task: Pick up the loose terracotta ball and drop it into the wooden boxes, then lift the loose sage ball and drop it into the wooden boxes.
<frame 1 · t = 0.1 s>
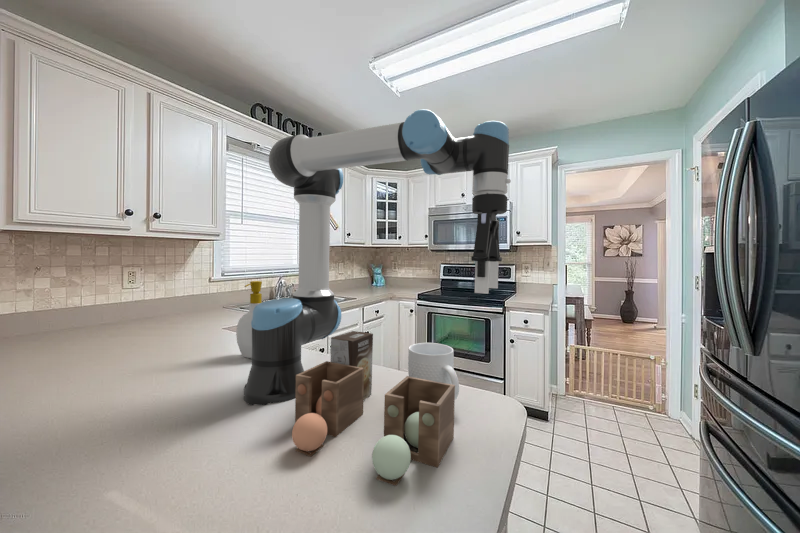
hand: (487, 290, 72), 28 cm above the counter, fingers open, 13 cm apart
sage ball 1: (420, 445, 59), point 1 cm above the counter, touching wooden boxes
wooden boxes: (372, 435, 63), on the counter
terracotta ball 1: (330, 420, 67), point 1 cm above the counter, touching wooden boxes
sage ball 2: (391, 475, 50), point 1 cm above the counter, touching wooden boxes
coffee box: (351, 401, 78), on the counter
terracotta ball 2: (309, 448, 57), point 1 cm above the counter, touching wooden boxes
mug: (432, 403, 78), on the counter
soap bottle: (254, 357, 110), on the counter
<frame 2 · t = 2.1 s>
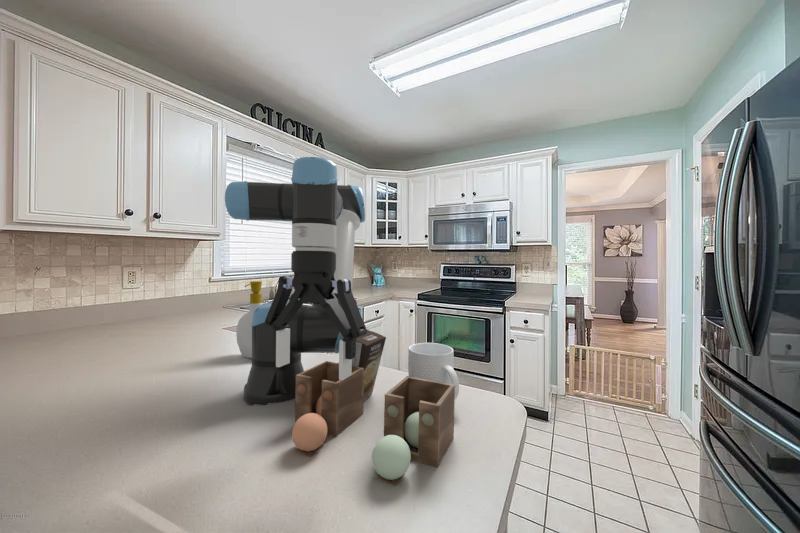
hand: (312, 371, 57), 15 cm above the counter, fingers open, 13 cm apart
coffee box: (351, 398, 78), point 1 cm above the counter, touching arm
everything else where it was.
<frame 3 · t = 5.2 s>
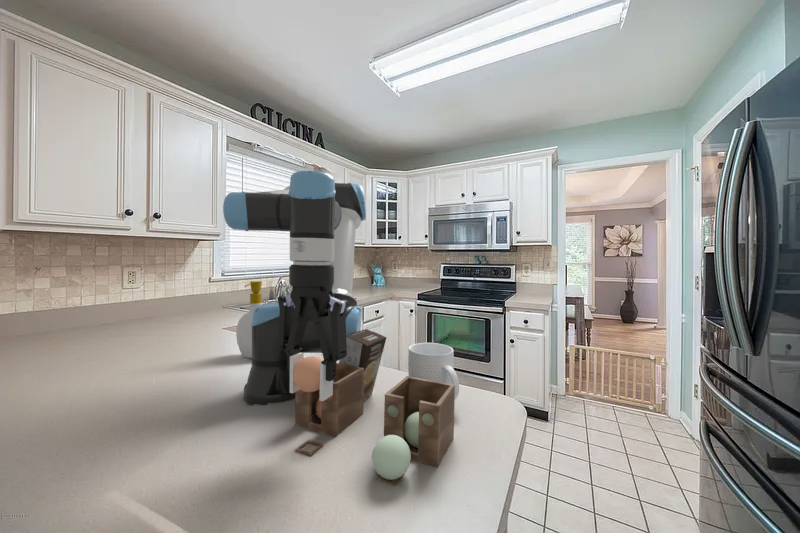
hand: (311, 393, 57), 11 cm above the counter, fingers closed on terracotta ball 2, 6 cm apart
terracotta ball 2: (310, 390, 57), point 11 cm above the counter, touching gripper
everything else where it was.
when the fingers open (13 cm above the counter, at t = 6.8 s): terracotta ball 2 drops 5 cm and tips over, resting on terracotta ball 1, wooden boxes.
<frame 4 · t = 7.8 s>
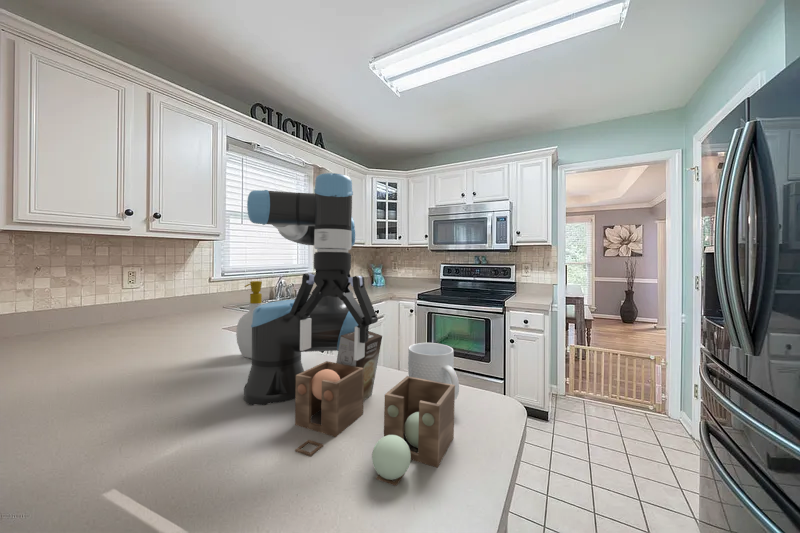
hand: (331, 353, 67), 15 cm above the counter, fingers open, 13 cm apart
terracotta ball 1: (330, 419, 67), point 1 cm above the counter, tilted 25°, touching terracotta ball 2, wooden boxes
terracotta ball 2: (336, 382, 68), point 8 cm above the counter, tilted 80°, touching terracotta ball 1, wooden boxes
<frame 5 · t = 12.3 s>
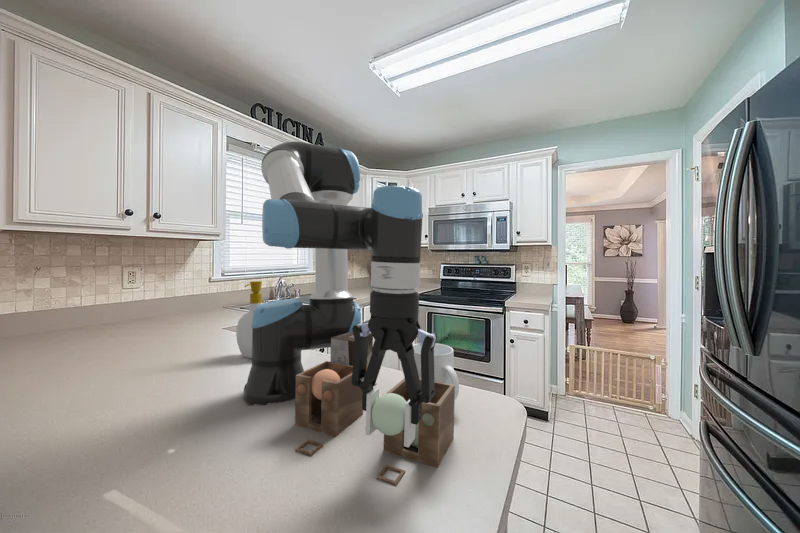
hand: (390, 435, 51), 7 cm above the counter, fingers closed on sage ball 2, 6 cm apart
sage ball 2: (390, 432, 51), point 7 cm above the counter, touching gripper
coffee box: (351, 401, 78), on the counter
everything else where it was.
when the fingers open (13 cm above the counter, at t = 14.1 s): sage ball 2 drops 5 cm and tips over, resting on sage ball 1, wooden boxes.
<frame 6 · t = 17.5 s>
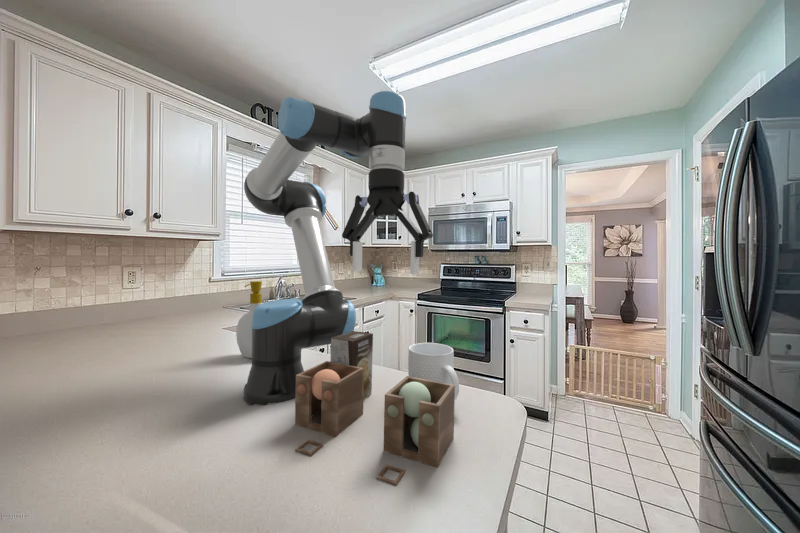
hand: (384, 272, 68), 32 cm above the counter, fingers open, 13 cm apart
sage ball 1: (420, 444, 59), point 1 cm above the counter, tilted 24°, touching sage ball 2, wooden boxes
sage ball 2: (429, 407, 58), point 8 cm above the counter, tilted 71°, touching sage ball 1, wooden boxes
everything else where it was.
at the end: terracotta ball 2 inside the target area (1.3 cm from its centre), point 8.3 cm above the counter; sage ball 2 inside the target area (1.6 cm from its centre), point 8.1 cm above the counter; the gripper is holding nothing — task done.
